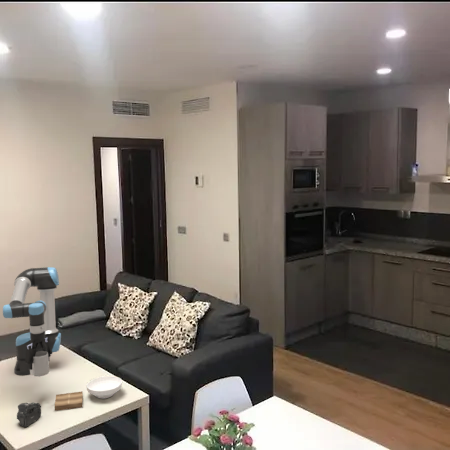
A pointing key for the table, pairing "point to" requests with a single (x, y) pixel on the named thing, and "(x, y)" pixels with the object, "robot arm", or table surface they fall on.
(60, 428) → the table surface
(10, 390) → the table surface
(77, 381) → the table surface
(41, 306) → the robot arm
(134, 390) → the table surface
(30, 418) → the camera
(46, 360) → the mug
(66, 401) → the trivet
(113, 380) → the bowl
